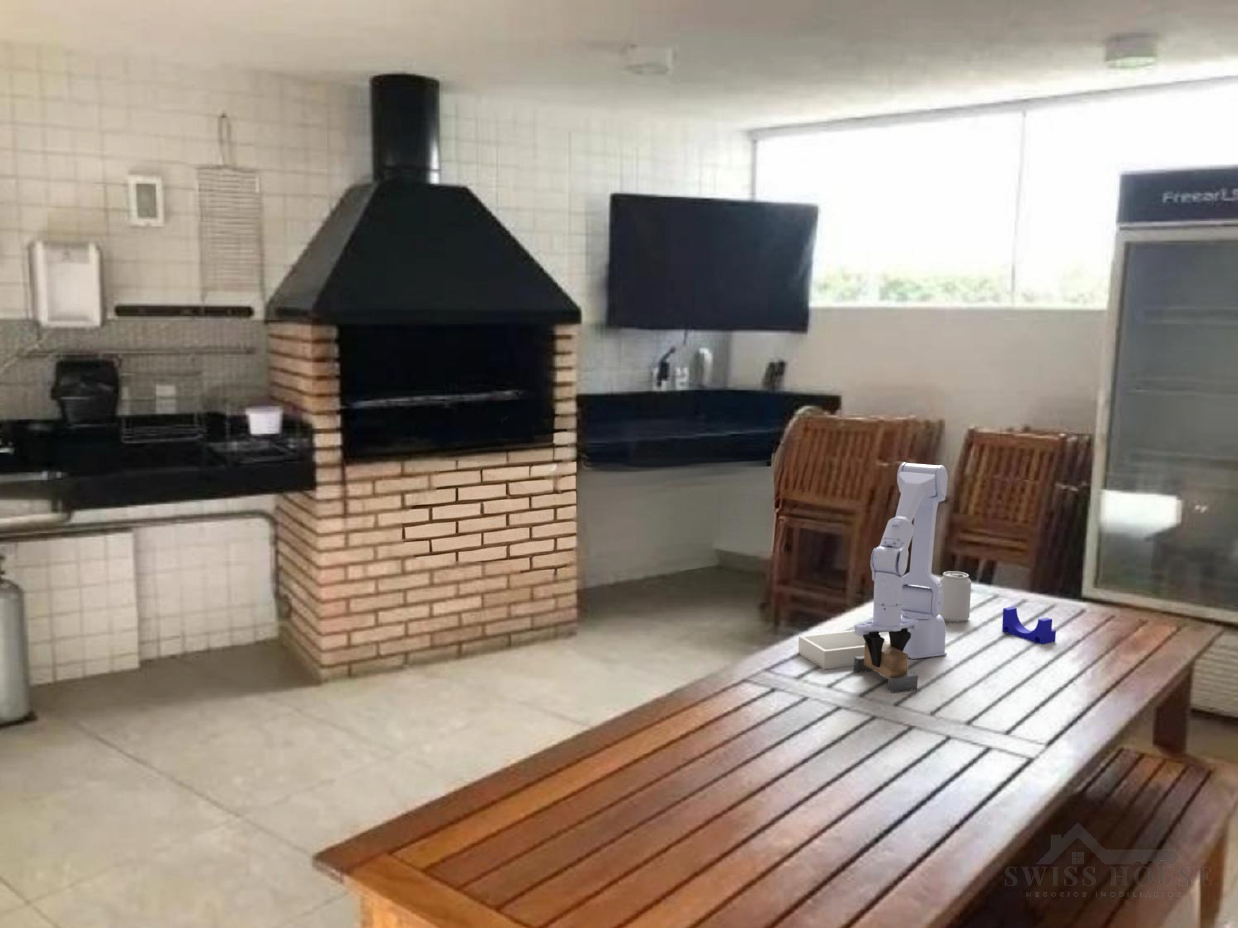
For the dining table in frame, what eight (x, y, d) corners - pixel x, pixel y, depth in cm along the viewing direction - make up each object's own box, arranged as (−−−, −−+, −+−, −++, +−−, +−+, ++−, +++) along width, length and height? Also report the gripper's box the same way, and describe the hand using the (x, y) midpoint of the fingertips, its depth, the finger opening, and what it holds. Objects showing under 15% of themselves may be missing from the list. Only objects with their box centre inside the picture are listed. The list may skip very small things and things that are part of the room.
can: (973, 623, 264) (975, 577, 262) (943, 623, 264) (945, 576, 263) (964, 614, 271) (966, 569, 270) (935, 614, 272) (937, 569, 270)
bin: (864, 645, 247) (865, 628, 246) (893, 660, 236) (893, 643, 235) (798, 652, 241) (798, 636, 240) (824, 668, 230) (824, 651, 230)
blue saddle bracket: (1055, 642, 249) (1056, 618, 248) (1042, 645, 247) (1043, 620, 246) (1015, 629, 260) (1016, 605, 259) (1002, 631, 258) (1003, 608, 257)
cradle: (877, 666, 231) (878, 653, 231) (917, 689, 217) (917, 675, 217) (853, 669, 229) (854, 656, 229) (892, 692, 216) (892, 678, 215)
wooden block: (879, 662, 229) (880, 640, 228) (907, 677, 219) (908, 654, 218) (864, 664, 227) (864, 642, 226) (890, 679, 218) (891, 656, 217)
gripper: (868, 610, 215) (866, 674, 217) (928, 604, 220) (925, 666, 222) (849, 601, 222) (847, 663, 224) (908, 595, 226) (906, 656, 228)
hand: (885, 664), depth 223 cm, fingers closed on wooden block, 4 cm apart
